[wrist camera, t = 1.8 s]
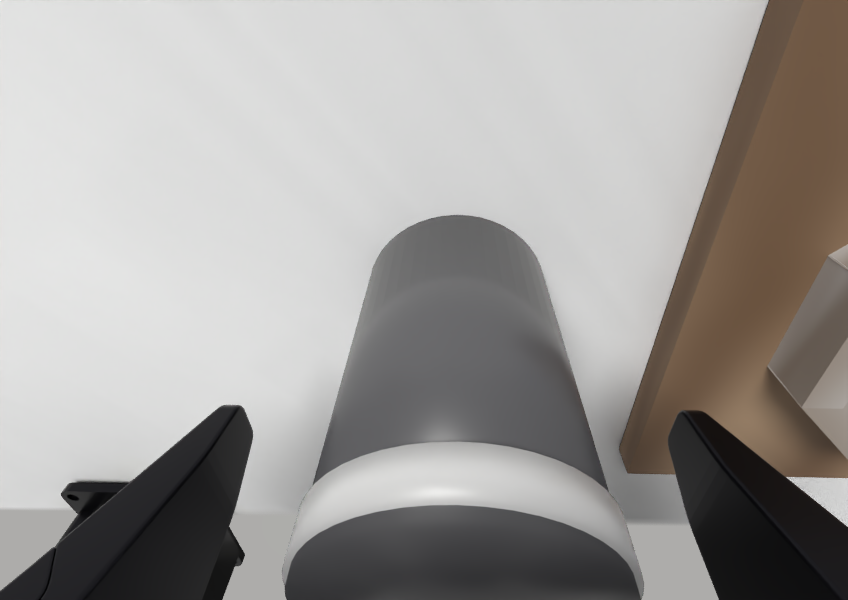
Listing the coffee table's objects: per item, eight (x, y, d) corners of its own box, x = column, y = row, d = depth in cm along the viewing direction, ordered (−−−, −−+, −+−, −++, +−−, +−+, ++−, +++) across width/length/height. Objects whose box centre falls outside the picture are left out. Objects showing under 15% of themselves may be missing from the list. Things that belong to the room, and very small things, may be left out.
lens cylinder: (376, 360, 15) (315, 664, 8) (355, 213, 12) (230, 511, 5) (537, 361, 14) (607, 679, 8) (558, 209, 11) (702, 524, 5)
